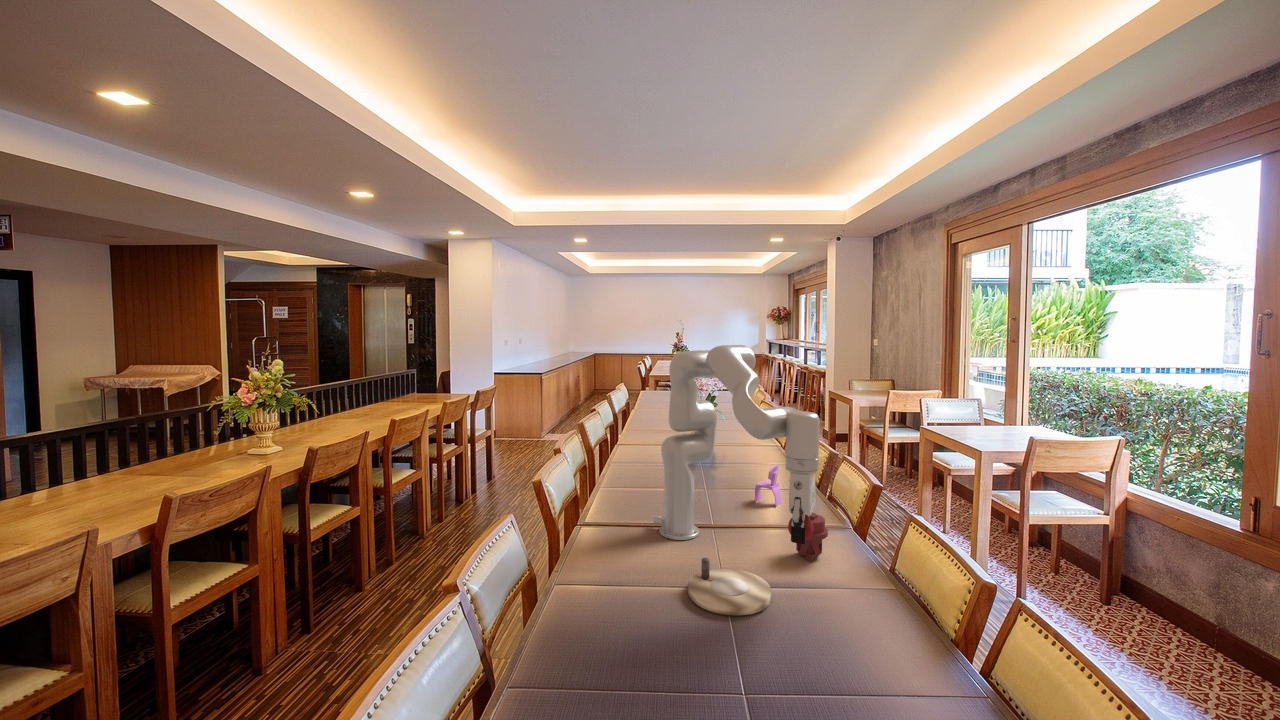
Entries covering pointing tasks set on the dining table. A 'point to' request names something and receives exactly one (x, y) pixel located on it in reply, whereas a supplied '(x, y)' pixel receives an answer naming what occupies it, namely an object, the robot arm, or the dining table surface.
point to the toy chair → (769, 486)
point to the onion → (807, 524)
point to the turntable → (728, 591)
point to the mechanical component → (814, 538)
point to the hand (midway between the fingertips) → (800, 537)
